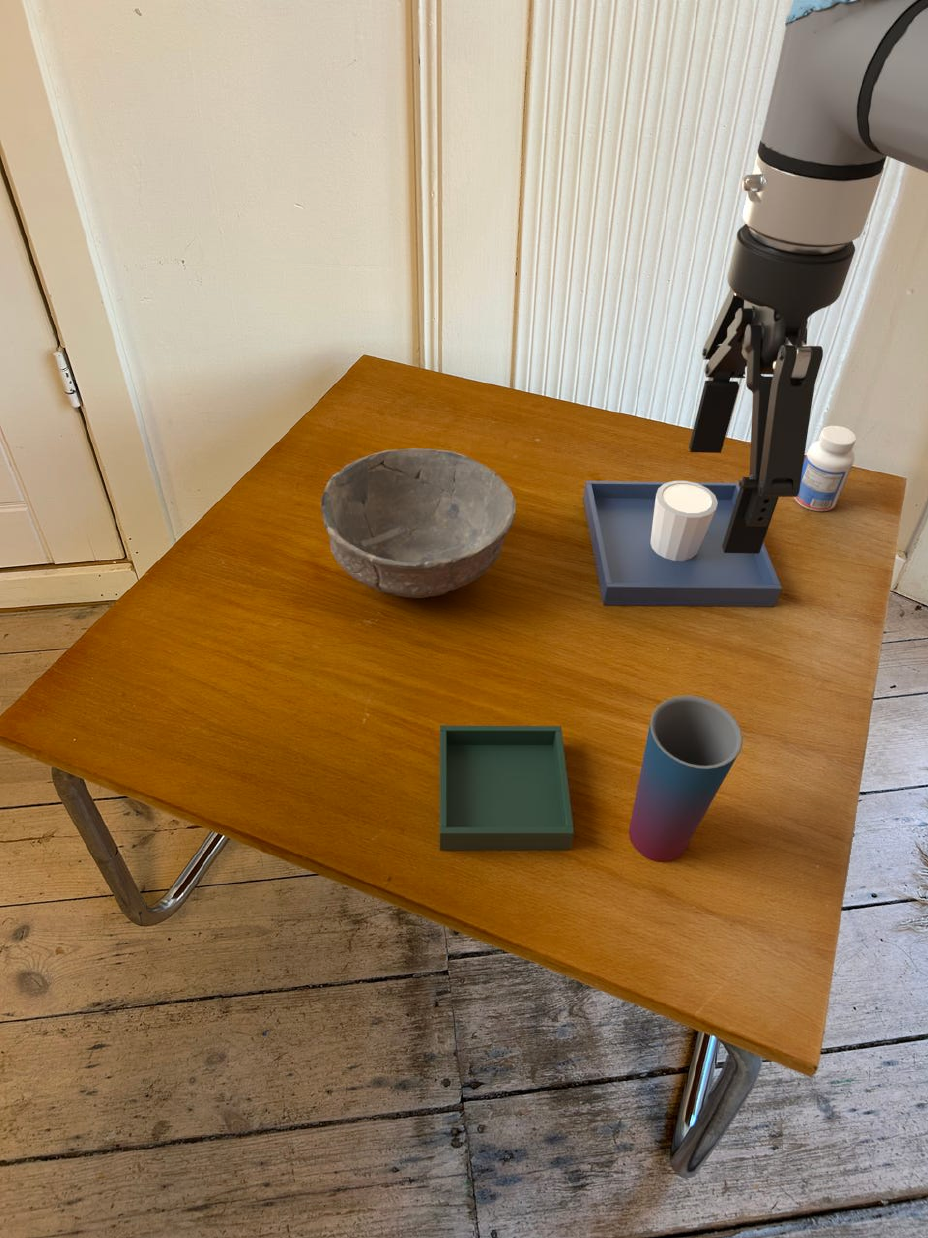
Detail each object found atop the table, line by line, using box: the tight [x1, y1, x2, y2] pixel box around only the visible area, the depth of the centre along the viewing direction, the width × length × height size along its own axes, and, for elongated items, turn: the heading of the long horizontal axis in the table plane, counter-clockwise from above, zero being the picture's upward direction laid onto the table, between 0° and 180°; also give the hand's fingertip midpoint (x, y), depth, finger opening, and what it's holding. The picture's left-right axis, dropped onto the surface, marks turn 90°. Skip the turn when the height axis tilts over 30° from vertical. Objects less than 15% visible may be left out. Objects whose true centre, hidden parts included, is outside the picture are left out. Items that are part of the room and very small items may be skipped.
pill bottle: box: [793, 425, 857, 512], centre depth 106 cm, size 6×5×10 cm
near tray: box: [438, 725, 575, 851], centre depth 76 cm, size 11×11×3 cm
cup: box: [628, 695, 743, 863], centre depth 69 cm, size 7×7×15 cm
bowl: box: [320, 447, 517, 599], centre depth 95 cm, size 21×21×10 cm
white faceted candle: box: [650, 480, 718, 561], centre depth 99 cm, size 7×7×7 cm
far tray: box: [582, 480, 783, 608], centre depth 101 cm, size 19×19×3 cm
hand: (721, 497), depth 71 cm, fingers open, 13 cm apart
